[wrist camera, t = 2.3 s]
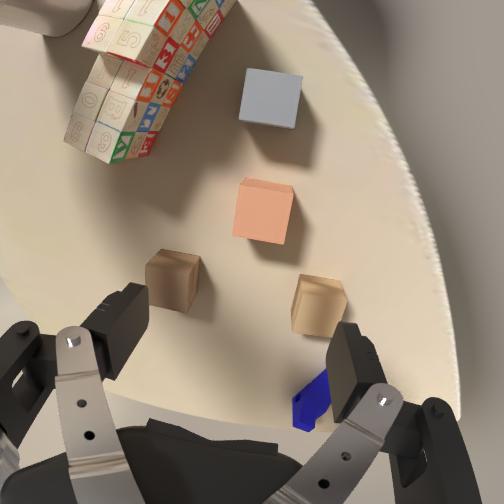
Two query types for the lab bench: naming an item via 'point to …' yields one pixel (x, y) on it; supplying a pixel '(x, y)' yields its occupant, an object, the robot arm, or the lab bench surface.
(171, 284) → the tan block
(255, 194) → the terracotta block
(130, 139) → the stack of blocks
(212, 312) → the lab bench surface
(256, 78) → the gray block
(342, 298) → the oak block
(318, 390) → the blue cradle bracket
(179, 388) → the lab bench surface
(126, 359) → the robot arm
